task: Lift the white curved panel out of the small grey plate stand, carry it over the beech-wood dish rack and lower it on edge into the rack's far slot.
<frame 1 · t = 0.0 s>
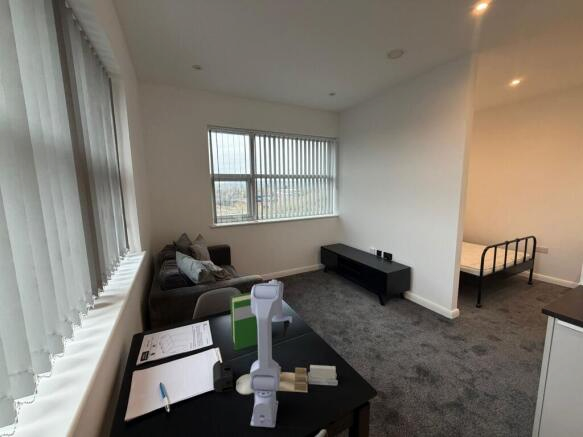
hand: (275, 335, 111), 10 cm above the table, fingers open, 7 cm apart
end cap: (222, 383, 96), on the table
white curved panel: (322, 379, 98), point 1 cm above the table, touching plate stand
dish rack: (287, 382, 97), on the table
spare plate: (247, 385, 96), on the table
hardback book: (250, 341, 123), on the table
plate stand: (322, 380, 98), on the table
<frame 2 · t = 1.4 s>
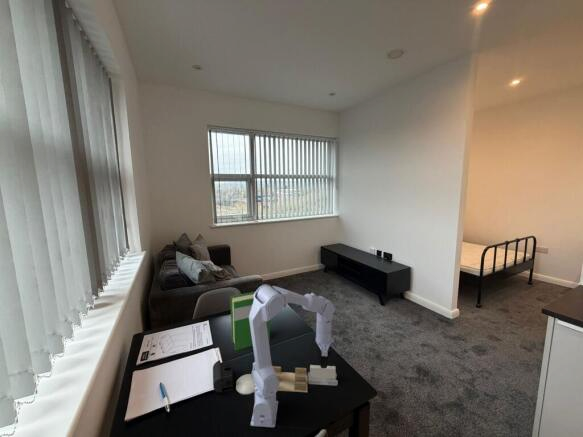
hand: (322, 360, 97), 9 cm above the table, fingers open, 7 cm apart
nothing on the table moved.
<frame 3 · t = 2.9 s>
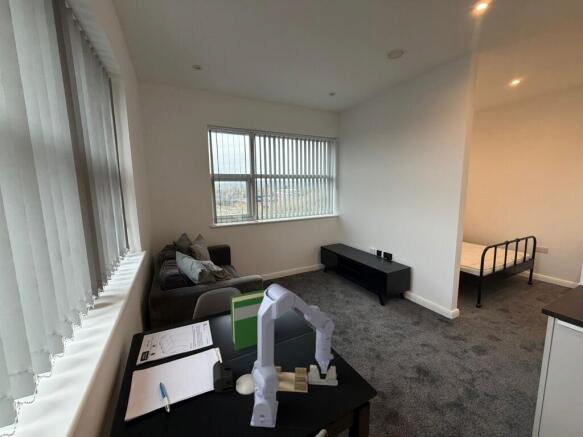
hand: (322, 376, 98), 2 cm above the table, fingers closed on white curved panel, 2 cm apart
white curved panel: (322, 379, 98), point 1 cm above the table, touching gripper, plate stand
everything else where it was.
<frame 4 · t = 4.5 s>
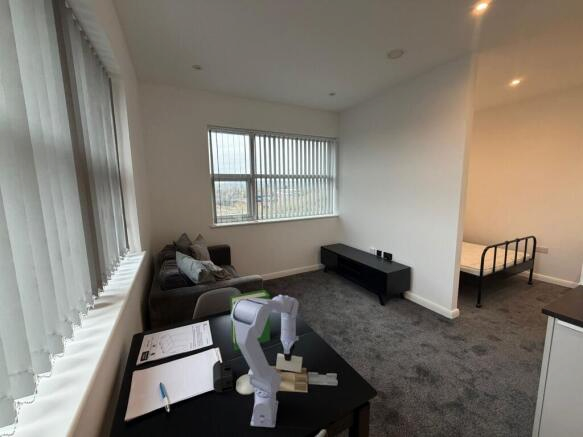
hand: (288, 358, 97), 9 cm above the table, fingers closed on white curved panel
white curved panel: (288, 368, 98), point 4 cm above the table, tilted 6°, touching gripper
everything else where it was.
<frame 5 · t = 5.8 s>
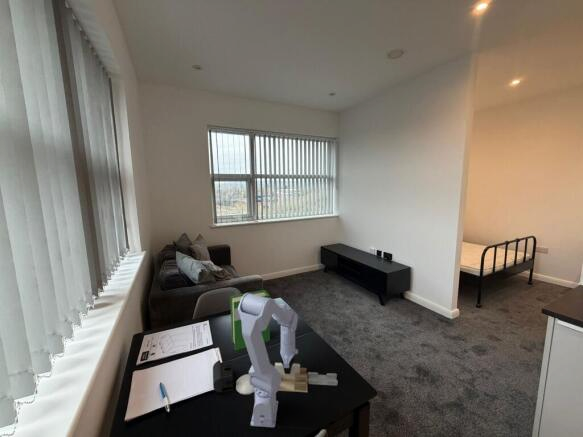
hand: (287, 371, 98), 3 cm above the table, fingers closed on white curved panel, 2 cm apart
white curved panel: (287, 377, 99), point 1 cm above the table, touching dish rack, gripper
everything else where it was.
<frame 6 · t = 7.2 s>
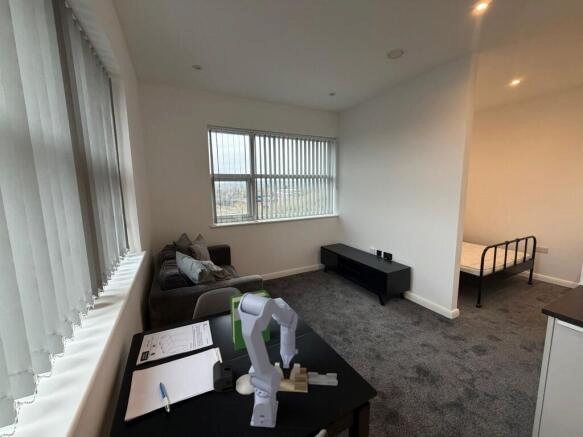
hand: (287, 371, 98), 3 cm above the table, fingers open, 7 cm apart
white curved panel: (287, 377, 99), point 1 cm above the table, touching dish rack
everything else where it was.
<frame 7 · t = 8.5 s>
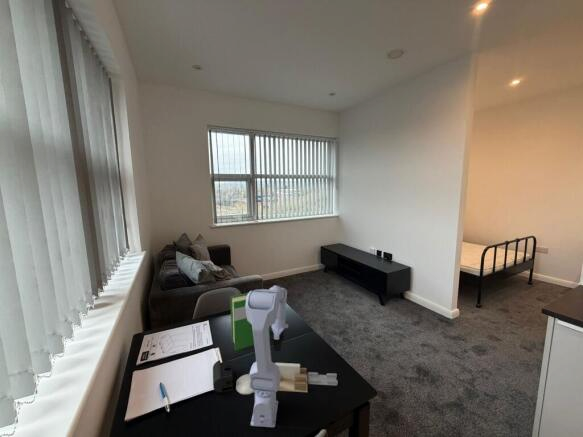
hand: (278, 344, 105), 10 cm above the table, fingers open, 7 cm apart
nothing on the table moved.
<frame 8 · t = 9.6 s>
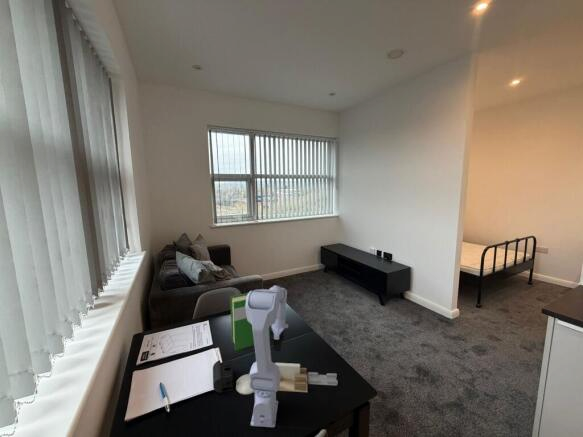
hand: (278, 344, 105), 10 cm above the table, fingers open, 7 cm apart
nothing on the table moved.
at the end: white curved panel 0.1 cm from the target spot on the dish rack, point 0.8 cm above the dish rack's base; white curved panel tilted 0°; the gripper is holding nothing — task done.
